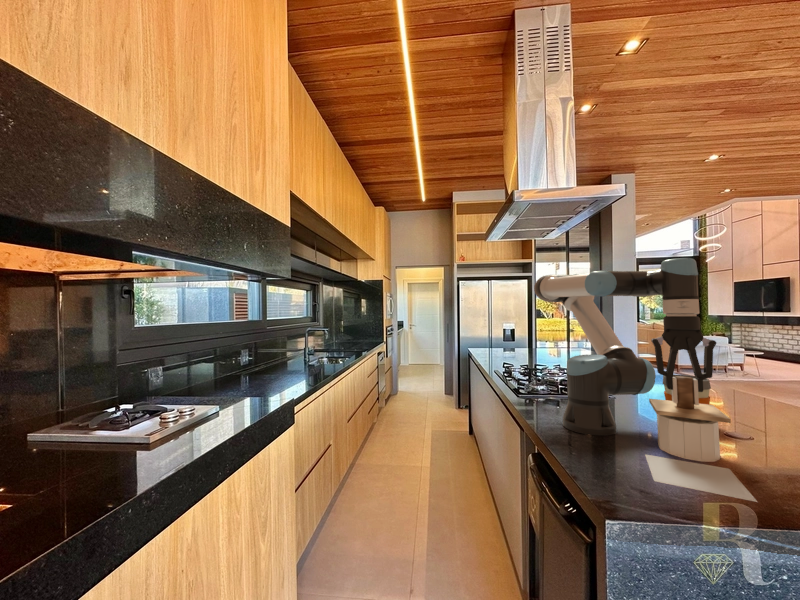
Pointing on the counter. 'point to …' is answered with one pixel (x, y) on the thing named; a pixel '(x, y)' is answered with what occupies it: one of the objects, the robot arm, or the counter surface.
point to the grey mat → (697, 477)
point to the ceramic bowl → (689, 438)
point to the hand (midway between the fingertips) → (685, 402)
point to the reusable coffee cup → (703, 396)
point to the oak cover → (687, 404)
